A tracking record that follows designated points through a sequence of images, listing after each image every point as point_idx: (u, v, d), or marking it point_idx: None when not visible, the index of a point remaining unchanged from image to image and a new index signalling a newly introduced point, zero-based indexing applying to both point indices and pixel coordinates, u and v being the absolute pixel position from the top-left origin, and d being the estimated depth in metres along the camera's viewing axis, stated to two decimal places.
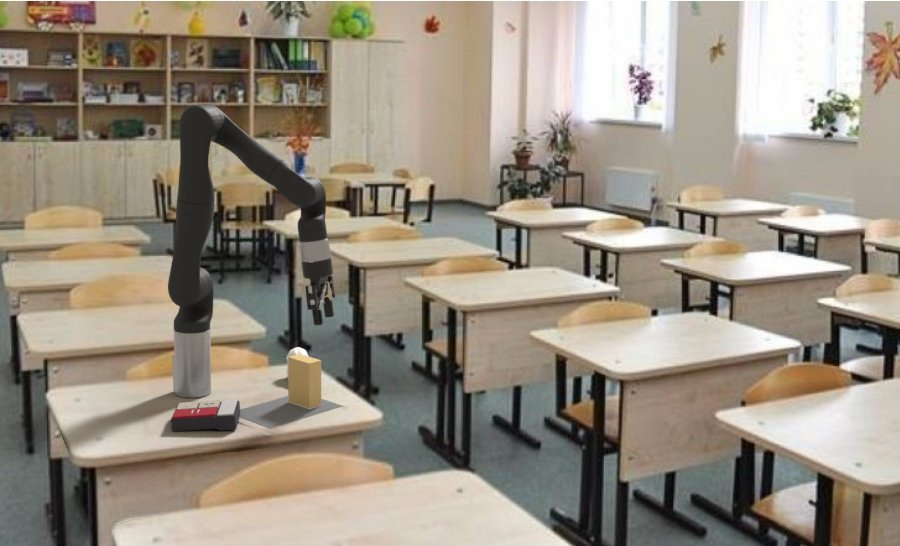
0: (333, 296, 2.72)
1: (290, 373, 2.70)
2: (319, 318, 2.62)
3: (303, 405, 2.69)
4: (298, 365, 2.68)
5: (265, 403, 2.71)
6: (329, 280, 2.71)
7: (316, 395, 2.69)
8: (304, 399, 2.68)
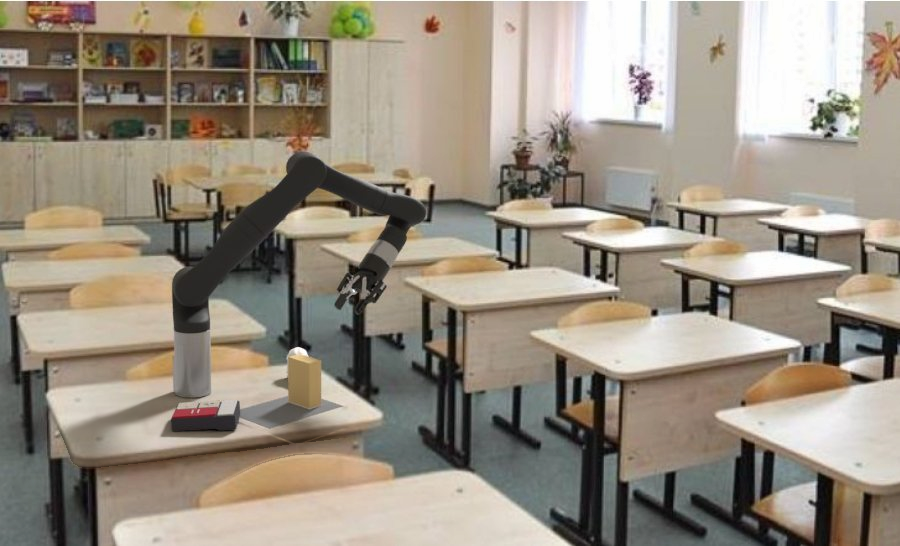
0: None
1: (290, 373, 2.70)
2: None
3: (303, 405, 2.69)
4: (298, 365, 2.68)
5: (265, 403, 2.71)
6: None
7: (316, 395, 2.69)
8: (304, 399, 2.68)
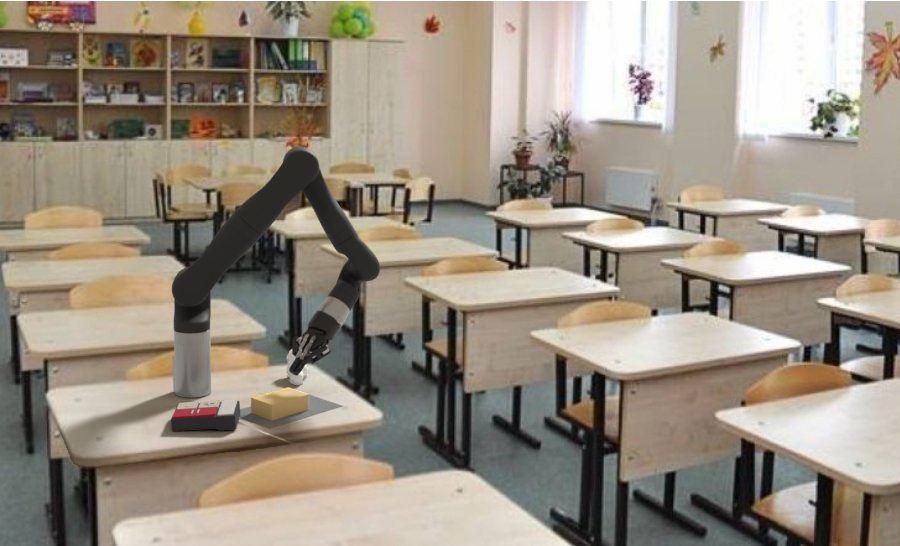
0: None
1: None
2: None
3: None
4: None
5: None
6: None
7: (299, 403, 2.64)
8: None
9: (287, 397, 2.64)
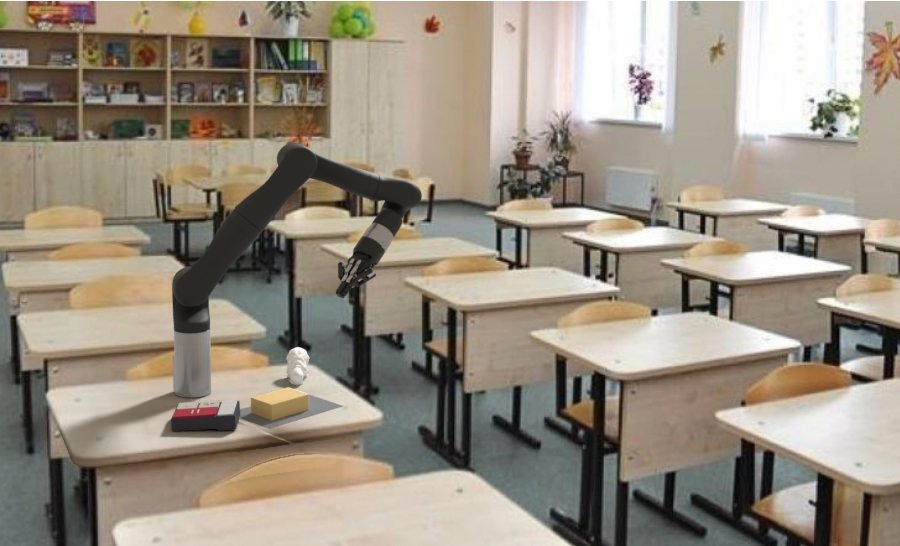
0: None
1: None
2: None
3: None
4: None
5: None
6: None
7: (299, 403, 2.64)
8: None
9: (287, 397, 2.64)
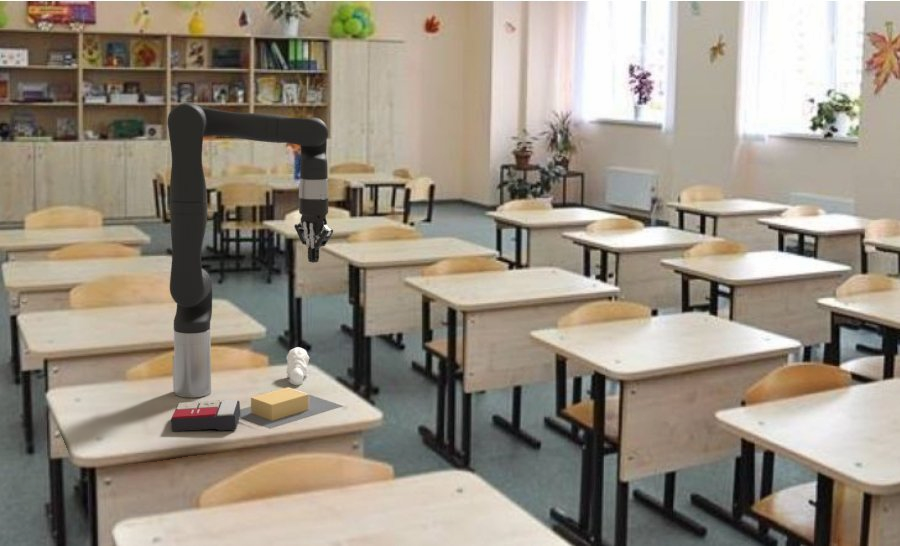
0: None
1: None
2: None
3: None
4: None
5: None
6: None
7: (299, 403, 2.64)
8: None
9: (287, 397, 2.64)
